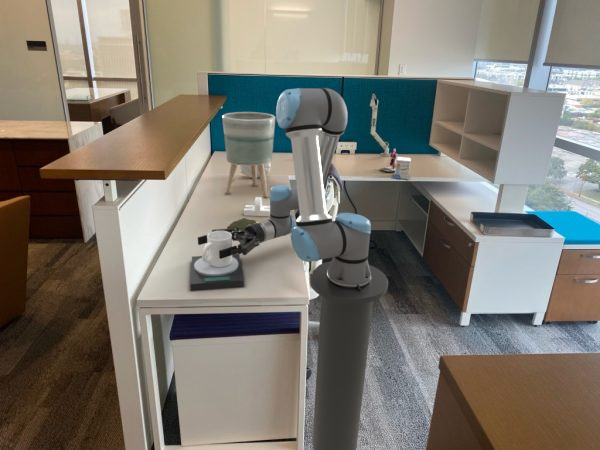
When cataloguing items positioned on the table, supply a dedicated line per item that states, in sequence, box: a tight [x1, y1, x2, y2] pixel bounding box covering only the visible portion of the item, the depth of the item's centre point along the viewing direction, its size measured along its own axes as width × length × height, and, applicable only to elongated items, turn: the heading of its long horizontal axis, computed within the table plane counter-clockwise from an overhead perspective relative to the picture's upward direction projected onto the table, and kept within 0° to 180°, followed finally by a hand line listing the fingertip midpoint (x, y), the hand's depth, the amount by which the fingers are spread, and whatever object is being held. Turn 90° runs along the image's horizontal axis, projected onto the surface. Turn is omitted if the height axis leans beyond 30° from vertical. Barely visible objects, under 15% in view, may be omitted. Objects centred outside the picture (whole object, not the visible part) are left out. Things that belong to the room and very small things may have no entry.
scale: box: [190, 254, 245, 291], centre depth 153 cm, size 20×17×3 cm
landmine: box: [226, 217, 257, 230], centre depth 191 cm, size 14×3×15 cm
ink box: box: [393, 156, 412, 180], centre depth 274 cm, size 9×8×12 cm
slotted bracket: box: [243, 196, 270, 217], centre depth 208 cm, size 13×7×8 cm, turn 88°
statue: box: [379, 148, 398, 173], centre depth 286 cm, size 11×9×15 cm
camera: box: [239, 162, 272, 179], centre depth 261 cm, size 11×18×16 cm, turn 97°
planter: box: [221, 111, 276, 198], centre depth 231 cm, size 26×26×40 cm
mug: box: [201, 231, 233, 267], centre depth 152 cm, size 12×8×10 cm
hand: (208, 247), depth 150 cm, fingers open, 13 cm apart
